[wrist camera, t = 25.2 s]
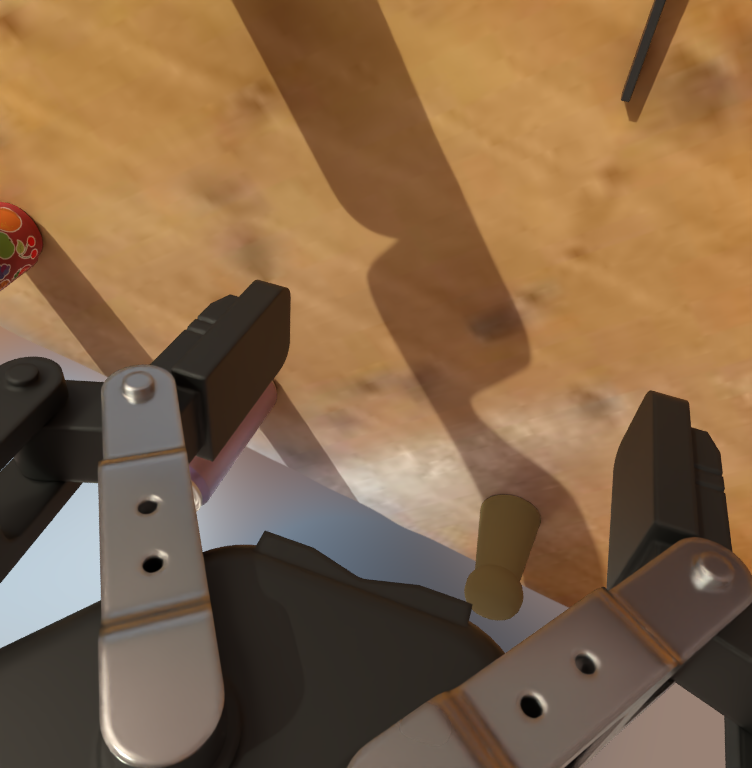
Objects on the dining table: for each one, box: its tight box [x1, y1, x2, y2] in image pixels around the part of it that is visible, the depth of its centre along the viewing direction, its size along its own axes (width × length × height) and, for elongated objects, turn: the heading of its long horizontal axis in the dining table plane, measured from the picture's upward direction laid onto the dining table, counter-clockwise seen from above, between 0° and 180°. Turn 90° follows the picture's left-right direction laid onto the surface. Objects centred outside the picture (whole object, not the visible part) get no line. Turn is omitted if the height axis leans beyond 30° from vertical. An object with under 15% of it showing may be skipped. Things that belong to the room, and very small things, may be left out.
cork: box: [464, 495, 541, 620], centre depth 60 cm, size 6×6×11 cm
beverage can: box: [189, 380, 277, 512], centre depth 59 cm, size 6×6×15 cm
